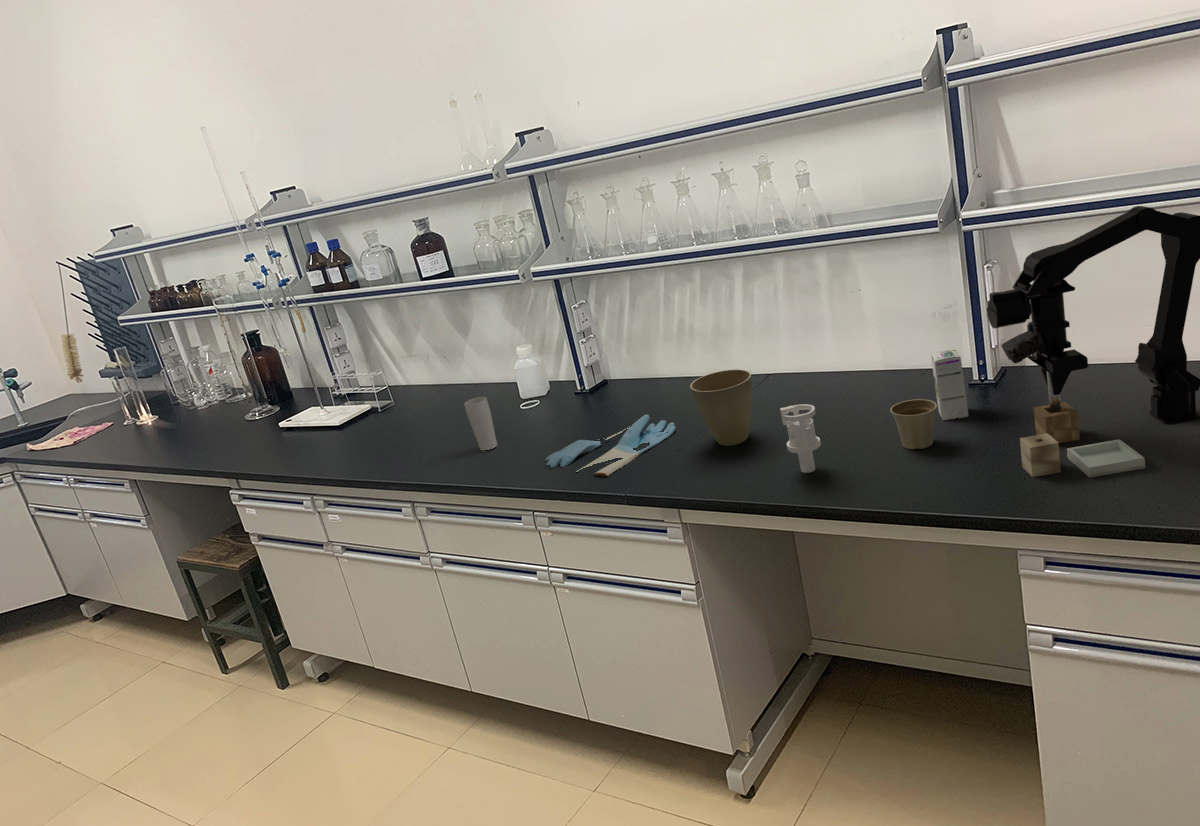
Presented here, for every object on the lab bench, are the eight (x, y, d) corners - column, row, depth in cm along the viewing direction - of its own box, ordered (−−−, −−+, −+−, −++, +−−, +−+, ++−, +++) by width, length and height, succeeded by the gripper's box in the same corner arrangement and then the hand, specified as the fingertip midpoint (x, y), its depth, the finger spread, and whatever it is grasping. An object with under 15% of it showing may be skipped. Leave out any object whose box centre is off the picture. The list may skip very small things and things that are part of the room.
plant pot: (705, 433, 223) (693, 375, 218) (763, 424, 219) (752, 365, 214) (700, 456, 209) (687, 394, 204) (761, 447, 205) (749, 384, 201)
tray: (1120, 449, 163) (1119, 439, 163) (1145, 468, 154) (1144, 458, 154) (1067, 458, 165) (1066, 448, 164) (1089, 477, 156) (1088, 467, 155)
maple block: (1049, 462, 165) (1047, 432, 163) (1060, 472, 160) (1058, 442, 158) (1022, 467, 166) (1019, 437, 164) (1032, 477, 161) (1029, 447, 159)
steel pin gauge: (1058, 409, 173) (1055, 361, 170) (1063, 412, 171) (1059, 364, 168) (1048, 411, 173) (1044, 363, 170) (1052, 414, 172) (1048, 366, 169)
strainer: (789, 467, 191) (777, 403, 187) (820, 460, 190) (810, 396, 186) (794, 479, 184) (783, 414, 180) (828, 472, 184) (817, 406, 179)
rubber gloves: (533, 469, 230) (527, 447, 228) (613, 422, 251) (608, 402, 249) (608, 479, 210) (602, 455, 208) (687, 428, 232) (683, 406, 230)
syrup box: (969, 417, 194) (962, 355, 189) (941, 421, 195) (934, 360, 191) (964, 408, 199) (957, 348, 194) (937, 412, 200) (929, 353, 196)
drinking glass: (504, 443, 255) (491, 395, 250) (492, 452, 249) (478, 404, 244) (485, 444, 258) (471, 397, 253) (473, 453, 252) (459, 406, 248)
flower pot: (948, 437, 186) (944, 399, 184) (930, 454, 180) (925, 416, 177) (906, 434, 193) (901, 398, 190) (887, 451, 187) (882, 414, 184)
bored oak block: (1066, 429, 176) (1064, 401, 175) (1079, 439, 171) (1077, 411, 169) (1036, 434, 177) (1033, 407, 176) (1047, 445, 172) (1045, 417, 170)
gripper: (988, 315, 177) (995, 387, 181) (1022, 337, 159) (1029, 416, 164) (1045, 303, 175) (1051, 376, 179) (1086, 324, 157) (1092, 404, 162)
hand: (1054, 392), depth 171 cm, fingers closed on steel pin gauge, 2 cm apart
